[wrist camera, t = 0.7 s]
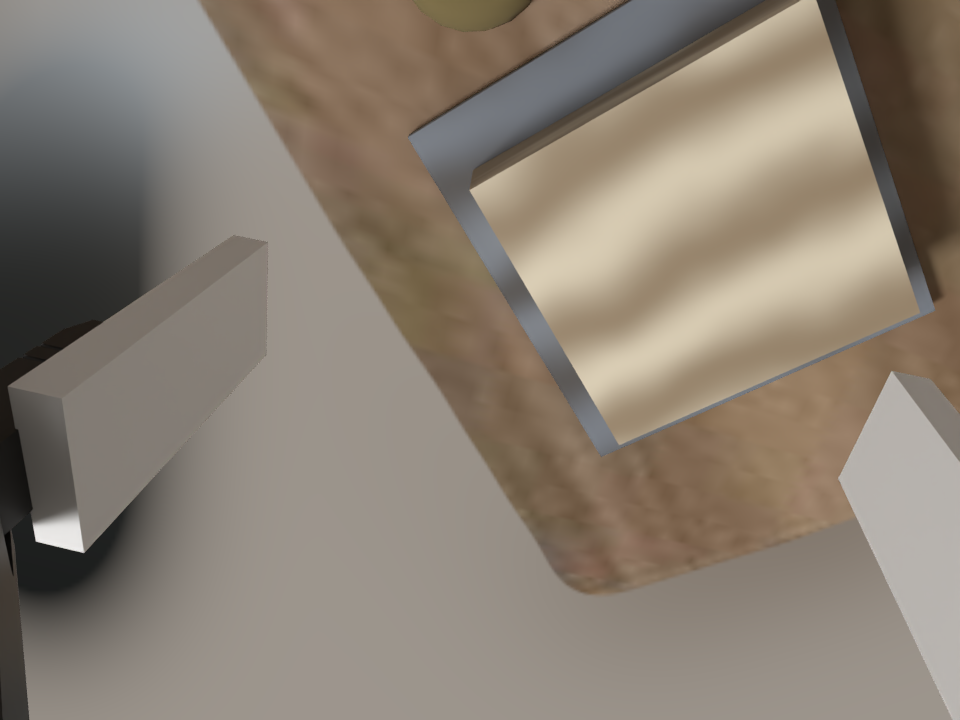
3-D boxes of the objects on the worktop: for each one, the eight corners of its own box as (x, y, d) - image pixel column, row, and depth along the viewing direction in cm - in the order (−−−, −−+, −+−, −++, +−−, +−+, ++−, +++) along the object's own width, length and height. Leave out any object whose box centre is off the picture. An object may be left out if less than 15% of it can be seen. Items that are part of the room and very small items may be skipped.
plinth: (409, 134, 37) (397, 154, 32) (795, -101, 31) (840, -115, 27) (599, 449, 45) (609, 497, 41) (927, 304, 40) (977, 343, 36)
